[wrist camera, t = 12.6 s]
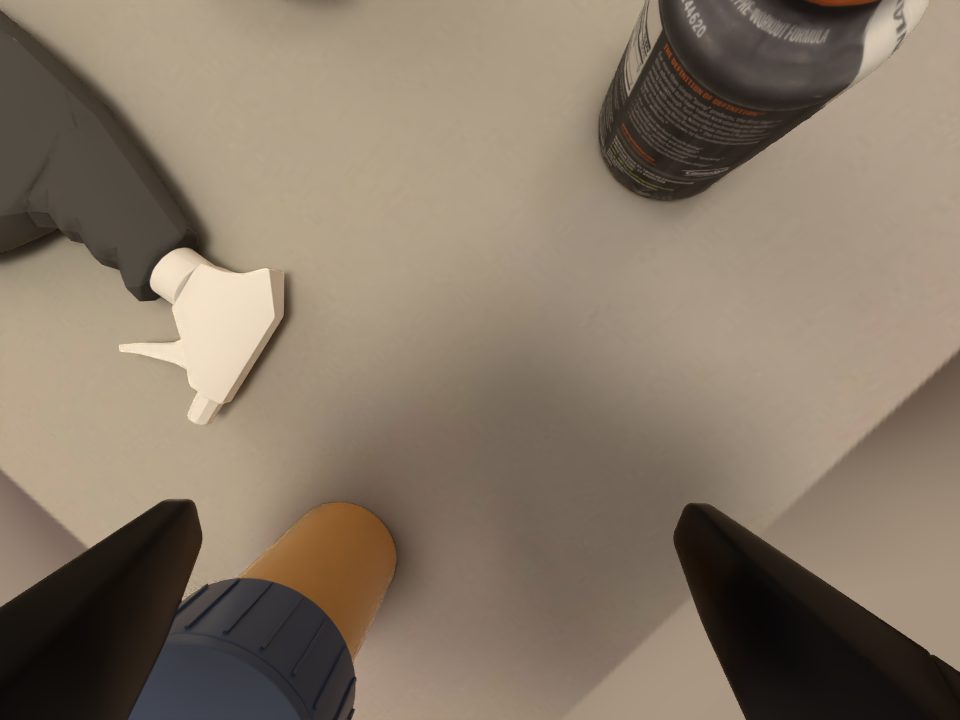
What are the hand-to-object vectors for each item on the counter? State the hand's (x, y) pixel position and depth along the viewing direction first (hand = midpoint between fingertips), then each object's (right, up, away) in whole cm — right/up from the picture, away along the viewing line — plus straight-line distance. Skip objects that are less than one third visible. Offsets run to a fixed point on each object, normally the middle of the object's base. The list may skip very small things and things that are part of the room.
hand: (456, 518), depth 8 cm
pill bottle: (+8, +13, +10) cm, 18 cm away
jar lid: (-7, -7, +5) cm, 11 cm away
